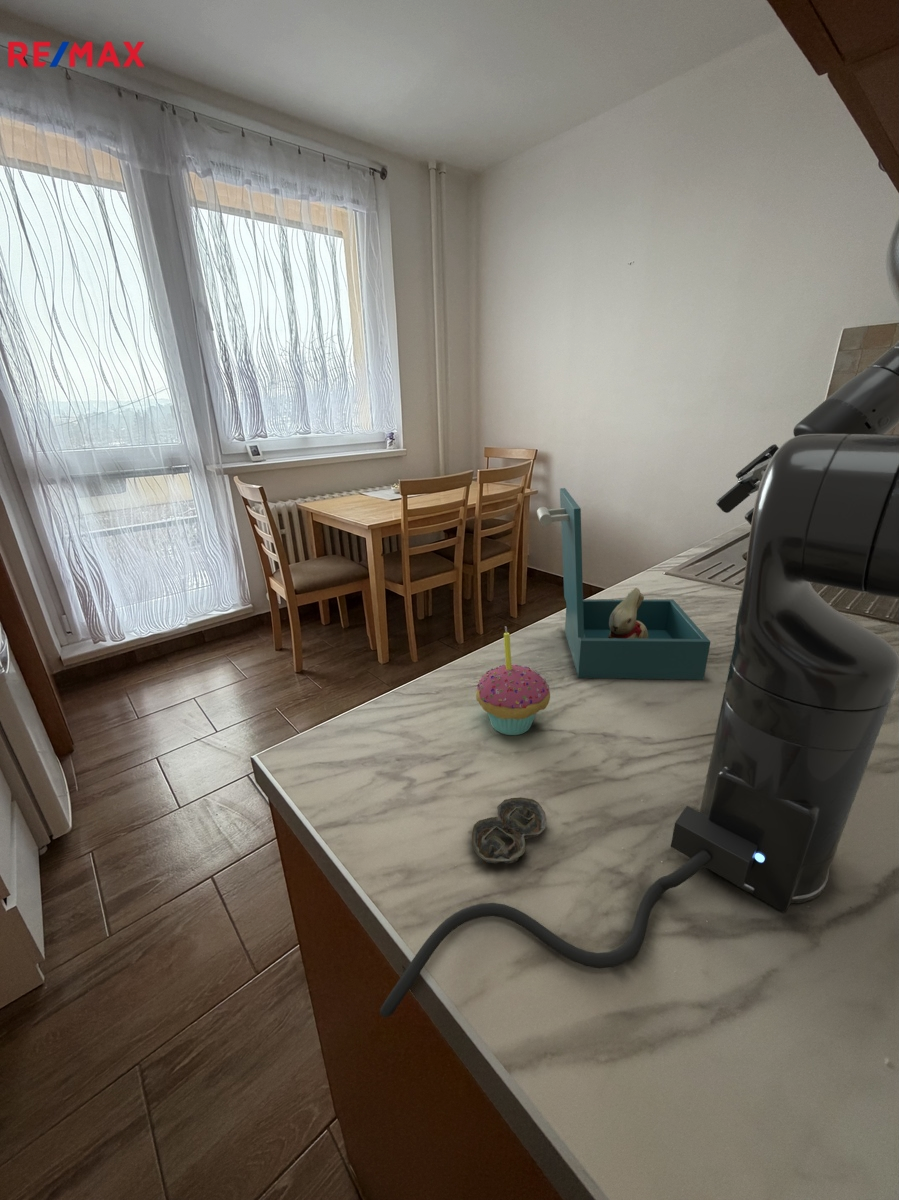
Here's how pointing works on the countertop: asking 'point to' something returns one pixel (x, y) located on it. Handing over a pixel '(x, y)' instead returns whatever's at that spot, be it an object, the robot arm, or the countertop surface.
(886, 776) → the countertop surface
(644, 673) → the chest
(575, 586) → the chest lid
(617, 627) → the chocolate bunny
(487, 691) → the cupcake
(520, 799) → the corroded twin loop
